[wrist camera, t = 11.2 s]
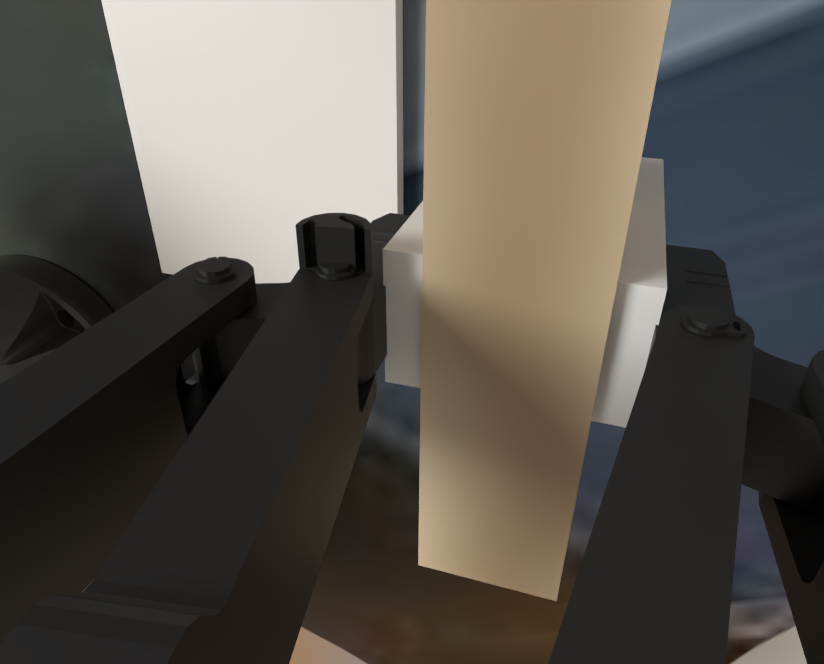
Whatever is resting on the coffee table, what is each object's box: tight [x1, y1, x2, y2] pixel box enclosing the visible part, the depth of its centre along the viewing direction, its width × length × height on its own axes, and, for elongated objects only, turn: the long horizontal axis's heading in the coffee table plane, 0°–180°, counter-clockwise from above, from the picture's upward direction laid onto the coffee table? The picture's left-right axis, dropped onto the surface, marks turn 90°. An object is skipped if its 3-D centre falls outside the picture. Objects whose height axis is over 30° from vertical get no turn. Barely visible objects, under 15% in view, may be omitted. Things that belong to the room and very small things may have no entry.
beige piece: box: [418, 0, 671, 601], centre depth 12 cm, size 14×17×7 cm
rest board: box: [101, 0, 403, 283], centre depth 35 cm, size 16×21×1 cm
